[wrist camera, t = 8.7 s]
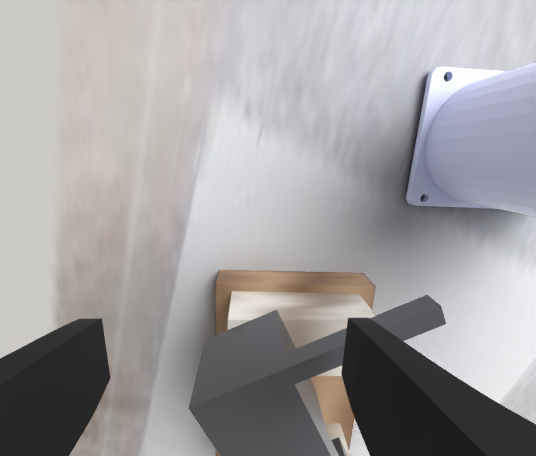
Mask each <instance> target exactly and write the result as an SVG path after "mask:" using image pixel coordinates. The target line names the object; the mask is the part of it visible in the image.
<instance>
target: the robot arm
mask: <svg viewBox="0 0 536 456" xmlns="http://www.w3.org/2000/svg"><path fill="white" fill-rule="evenodd" d="M444 74H447V76H448V79H447V81H445V80H444ZM423 194H424V195H425V198H424V200H423V201H421V200H420V198H421V196H422V195H423ZM406 200H407V202H408V203H409V204H411V205H415V206H439V207H465V208H492V209H502V210H506V211H511V212H515V213H520V214H524V215H529V216H533V217H536V62H533V63H530V64H527V65H524V66H521V67H518V68H515V69H512V70H509V71H496V70H483V69H469V68H455V67H442V66H441V67H436V68H434V69H433V70H431V71H430V73H429V74H428V77H427V83H426V88H425V94H424V100H423V105H422V111H421V117H420V122H419V128H418V134H417V139H416V145H415V151H414V156H413V162H412V168H411V173H410V179H409V185H408V190H407V196H406ZM341 375H342V378H343V382H344V386H345V389H346V393H347V396H348V400H349V403H350V406H351V410H352V412H353V415H354V417H355V420H356V422H357V425H358V427H359V429H360V432H361V434H362V437H363V439H364V442H365V444H366V446H367V449H368V451H369V454H370V456H536V424H534V423H532V422H530V421H529V420H527V419H525V418H523V417H521V416H520V415H518V414H516V413H514V412H512V411H511V410H509V409H507V408H505V407H504V406H502V405H500V404H499V403H497V402H495V401H494V400H492V399H490V398H488V397H487V396H485V395H484V394H482V393H480V392H479V391H477V390H476V389H474V388H472V387H471V386H469V385H468V384H466V383H464V382H463V381H461V380H460V379H458V378H456V377H455V376H453V375H452V374H450V373H449V372H447V371H446V370H444V369H443V368H441V367H440V366H438V365H437V364H435V363H434V362H432V361H431V360H429V359H428V358H426V357H425V356H423V355H422V354H421V353H419V352H418V351H416V350H415V349H413V348H412V347H410V346H409V345H408V344H406V343H405V342H403V341H402V340H401V339H399V338H398V337H396V336H395V335H393V334H392V333H391V332H389V331H388V330H386V329H385V328H383V327H382V326H380V325H379V324H377V323H376V322H374V321H373V320H371V319H369V318H348V322H347V330H346V339H345V347H344V356H343V364H342V372H341ZM109 380H110V373H109V366H108V359H107V352H106V345H105V338H104V331H103V324H102V319H78V320H76V321H74V322H71V323H69V324H67V325H65V326H63V327H61V328H59V329H57V330H55V331H53V332H51V333H49V334H47V335H45V336H43V337H41V338H39V339H37V340H35V341H33V342H31V343H29V344H28V345H26V346H24V347H22V348H20V349H18V350H16V351H14V352H12V353H10V354H8V355H6V356H4V357H3V358H1V359H0V456H69V455H70V453H71V451H72V450H73V448H74V446H75V445H76V443H77V441H78V440H79V438H80V436H81V435H82V433H83V431H84V430H85V428H86V426H87V425H88V423H89V421H90V420H91V418H92V416H93V414H94V412H95V410H96V408H97V406H98V404H99V402H100V400H101V398H102V395H103V393H104V391H105V389H106V386H107V384H108V382H109Z"/></svg>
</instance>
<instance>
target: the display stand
mask: <svg viewBox="0 0 536 456" xmlns="http://www.w3.org/2000/svg"><path fill="white" fill-rule="evenodd" d="M374 293H375V285H374V284H373V283H372V282H371V281H370V280H369V279H368V278H367V277H366V276H365V275H364V274H363V273H330V272H282V271H234V270H219V273H218V277H217V280H216V335H217V334H220V333H222V332H224V331H227V330H229V329H232V328H234V327H236V326H239V325H241V324H243V323H246V322H248V321H251V320H253V319H255V318H258V317H260V316H263V315H265V314H267V313H270V312H272V311H275V310H277V311H278V313H279V315H280V317H281V319H282V321H283V323H284V325H285V327H286V329H287V331H288V333H289V335H290V337H291V339H292V341H293V344H294V346H295V348H298V347H301V346H303V345H306V344H308V343H311V342H313V341H316V340H318V339H320V338H323V337H325V336H328V335H330V334H333V333H335V332H338V331H340V330H342V329H345V328H347V322H348V318H372V317H374V316H376V315H375V313H374V312H373V311H372V305H373V299H374ZM341 372H342V366H339V367H337V368H334V369H332V370H329V371H327V372H324V373H322V374H319V375H317V376H314V377H312V378H311V380H312V383H313V385H314V387H315V389H316V393H317V396H318V400H319V404H320V408H321V411H322V415H323V419H324V422H325V426H326V430H327V433H328V435H329V437H330V439H331V440H332V439H335V438H338V437H339V438H340V440H341V442H342V444H343V446H344V448H345V450H346V452H347V454H348V456H351V455H350V452H349V447H350V441H351V435H352V429H353V423H354V415H353V412H352V410H351V406H350V403H349V400H348V396H347V393H346V389H345V386H344V382H343V378H342V375H341ZM216 456H220V454H219V453H218V451H217V450H216Z"/></svg>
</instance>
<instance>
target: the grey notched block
mask: <svg viewBox="0 0 536 456" xmlns="http://www.w3.org/2000/svg"><path fill="white" fill-rule="evenodd" d="M369 319H371V320H373V321H374V322H376V323H377V324H379V325H380V326H382V327H383V328H385V329H386V330H388V331H389V332H391V333H392V334H393V335H395V336H396V337H398V338H399V339H401V340H402V341H404V340H407V339H409V338H412V337H414V336H417V335H419V334H422V333H424V332H427V331H429V330H432V329H434V328H437V327H439V326H442V325H444V324H446V322H445V318H444V315H443V312H442V308H441V306H440V305H439V304H438V303H436V302H435V301H434V300H433V299H431V298H430V297H429V296H428V295H426V296H423V297H421V298H418V299H416V300H414V301H411V302H409V303H406V304H404V305H401V306H399V307H396V308H394V309H391V310H389V311H387V312H384V313H382V314H379V315H377V316H374V317H372V318H369ZM346 330H347V328H345V329H342V330H340V331H338V332H335V333H333V334H330V335H328V336H325V337H323V338H320V339H318V340H316V341H313V342H311V343H308V344H306V345H303V346H301V347H298V348H295V346H294V344H293V341H292V339H291V337H290V335H289V333H288V331H287V329H286V327H285V325H284V323H283V321H282V319H281V317H280V315H279V313H278V311H277V310H275V311H272V312H270V313H267V314H265V315H263V316H260V317H258V318H255V319H253V320H251V321H248V322H246V323H243V324H241V325H239V326H236V327H234V328H232V329H229V330H227V331H224V332H222V333H220V334H217V335H215V336H212V337H210V338H208V339H206V341H205V345H204V349H203V353H202V357H201V361H200V365H199V369H198V373H197V377H196V381H195V385H194V389H193V393H192V397H191V401H190V405H189V409H190V411H191V412H192V414H193V415H194V417H195V418H196V420H197V421H198V423H199V424H200V426H201V427H202V429H203V430H204V432H205V433H206V435H207V436H208V438H209V439H210V441H211V442H212V444H213V445H214V447H215V448H216V450H217V451H218V453H219V454H220V456H348V454H347V452H346V450H345V448H344V446H343V444H342V442H341V440H340V438H339V437H338V438H335V439H332V440H331V439H330V437H329V435H328V433H327V430H326V426H325V422H324V419H323V415H322V411H321V408H320V404H319V400H318V396H317V393H316V389H315V387H314V385H313V383H312V380H311V378H312V377H314V376H317V375H319V374H322V373H324V372H327V371H329V370H332V369H334V368H337V367H339V366H342V364H343V356H344V347H345V339H346Z"/></svg>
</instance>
